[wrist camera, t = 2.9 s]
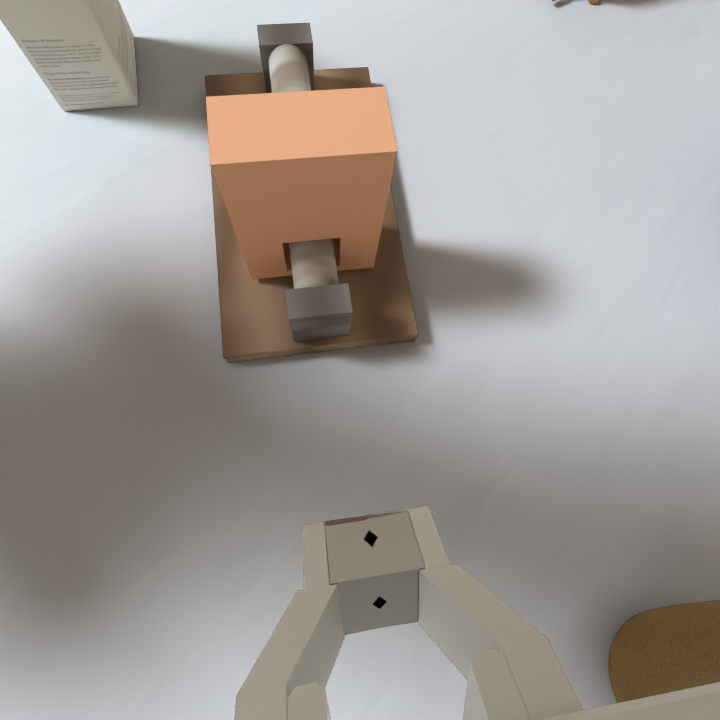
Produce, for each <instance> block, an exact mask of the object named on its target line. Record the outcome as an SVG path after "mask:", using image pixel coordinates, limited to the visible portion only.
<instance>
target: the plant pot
mask: <svg viewBox="0 0 720 720" xmlns="http://www.w3.org/2000/svg"><path fill="white" fill-rule="evenodd" d="M609 675H610V681H611V685H612V689H613V692H614V695H615V697H616V700H617V702H618V703H621V702H625V701H630V700H635V699H640V698H645V697H649V696H654V695H659V694H664V693H669V692H674V691H678V690H683V689H688V688H693V687H698V686H702V685H707V684H712V683H717V682H720V601H706V602H696V603H688V604H680V605H674V606H668V607H663V608H658V609H654V610H650V611H646V612H642V613H640V614H637V615H635V616H633V617H632V618H631V619H629V620H628V621H626V622H625V623H624V624H623V625H622V627H621V628H620V630H619V631H618V633H617V634H616V636H615V638H614V640H613V643H612V646H611V650H610V656H609Z"/></svg>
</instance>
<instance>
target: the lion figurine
mask: <svg viewBox="0 0 720 720" xmlns="http://www.w3.org/2000/svg"><path fill="white" fill-rule="evenodd" d="M552 1H555V0H552ZM588 1H589V2H590V3H592V4H598V3H599V2H600V0H588Z"/></svg>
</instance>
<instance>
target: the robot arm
mask: <svg viewBox="0 0 720 720" xmlns="http://www.w3.org/2000/svg"><path fill="white" fill-rule="evenodd" d="M302 549H303V576H304V589H303V590H298V591H297V592H296V594H295V596H294V597H293V599H292V601H291V603H290V604H289V606H288V608H287V609H286V611H285V613H284V615H283V616H282V618H281V620H280V621H279V623H278V625H277V627H276V628H275V630H274V632H273V634H272V635H271V637H270V639H269V640H268V642H267V644H266V646H265V647H264V649H263V651H262V652H261V654H260V656H259V658H258V659H257V661H256V663H255V664H254V666H253V668H252V670H251V671H250V673H249V675H248V676H247V678H246V680H245V682H244V683H243V685H242V687H241V688H240V690H239V692H238V694H237V695H236V706H235V717H234V720H331V718H330V712H329V707H328V701H327V696H326V690H325V686H326V684H327V681H328V679H329V676H330V674H331V671H332V668H333V666H334V663H335V661H336V658H337V655H338V653H339V650H340V648H341V645H342V643H343V640H344V635H347V634H352V633H357V632H361V631H366V630H371V629H375V628H380V627H387V626H393V625H400V624H407V623H413V622H418V624H419V625H420V626H421V627H422V628H423V630H424V631H425V632H426V633H427V634H428V635H429V637H430V638H431V639H432V640H433V641H434V642H435V643H436V645H437V646H438V647H439V648H440V649H441V650H442V651H443V653H444V654H445V655H446V656H447V657H448V658H449V660H450V661H451V662H452V663H453V664H454V665H455V666H456V668H457V669H458V670H459V671H460V672H461V673H462V675H463V676H464V677H465V678H466V679H467V680H468V683H467V691H466V699H465V707H464V715H463V720H720V682H717V683H712V684H707V685H702V686H698V687H693V688H688V689H683V690H678V691H674V692H669V693H664V694H659V695H654V696H649V697H645V698H640V699H635V700H630V701H625V702H621V703H616V704H611V705H606V706H601V707H597V708H592V709H587V710H583V709H582V707H581V705H580V703H579V701H578V699H577V697H576V695H575V693H574V691H573V689H572V687H571V685H570V683H569V681H568V679H567V677H566V675H565V673H564V671H563V669H562V667H561V665H560V663H559V661H558V659H557V657H556V654H555V652H554V650H553V648H552V646H551V644H550V642H549V640H548V638H547V637H546V636H545V635H543V634H542V633H541V632H540V631H538V630H537V629H536V628H535V627H534V626H532V625H531V624H530V623H529V622H527V621H526V620H525V619H524V618H523V617H521V616H520V615H519V614H518V613H516V612H515V611H514V610H513V609H511V608H510V607H509V606H508V605H507V604H505V603H504V602H503V601H502V600H500V599H499V598H498V597H497V596H496V595H494V594H493V593H492V592H491V591H489V590H488V589H487V588H486V587H484V586H483V585H482V584H481V583H480V582H478V581H477V580H476V579H475V578H473V577H472V576H471V575H470V574H469V573H467V572H466V571H465V570H464V569H462V568H461V567H460V566H459V565H457V564H451V565H450V563H449V560H448V557H447V554H446V552H445V549H444V546H443V543H442V541H441V538H440V535H439V533H438V530H437V527H436V524H435V522H434V519H433V516H432V513H431V511H430V508H429V507H428V506H421V507H414V508H408V509H400V510H394V511H388V512H382V513H376V514H370V515H365V516H362V517H354V518H346V519H338V520H331V521H325V524H324V522H317V523H310V524H303V526H302Z"/></svg>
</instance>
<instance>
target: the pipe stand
mask: <svg viewBox="0 0 720 720" xmlns="http://www.w3.org/2000/svg"><path fill="white" fill-rule="evenodd" d="M257 29H258V39H259V47H260V53H261V60H262V66H263V72H264V73H246V74H227V75H208V76H205V83H206V97H210V96H228V95H245V94H263V93H280V92H298V91H316V90H333V89H351V88H368V87H372V86H371V81H370V75H369V70H368V67H361V68H342V69H323V70H314V66H313V42H312V35H311V28H310V23H293V24H269V25H257ZM211 175H212V191H213V206H214V221H215V237H216V252H217V268H218V283H219V298H220V314H221V329H222V345H223V357H224V358H225V359H226V361H227V362H236V361H245V360H254V359H262V358H271V357H279V356H288V355H296V354H305V353H313V352H322V351H330V350H339V349H347V348H356V347H365V346H373V345H382V344H390V343H399V342H407V341H414V340H415V338H416V337H417V335H418V332H417V327H416V321H415V316H414V311H413V305H412V300H411V295H410V289H409V284H408V279H407V273H406V268H405V262H404V257H403V252H402V246H401V241H400V236H399V230H398V225H397V220H396V214H395V209H394V204H393V198H392V193H391V188H390V190H389V195H388V199H387V204H386V209H385V214H384V219H383V224H382V229H381V234H380V239H379V244H378V248H377V253H376V258H375V263H374V267H373V268H363V269H353V270H343V271H337V269H336V262H335V255H334V248H333V240H332V239H322V240H311V241H300V242H289V248H290V257H291V266H292V276H282V277H272V278H262V279H252V277H251V275H250V272H249V269H248V266H247V264H246V261H245V258H244V256H243V253H242V250H241V247H240V245H239V242H238V239H237V236H236V234H235V231H234V228H233V226H232V223H231V220H230V217H229V215H228V212H227V209H226V207H225V204H224V201H223V198H222V196H221V193H220V190H219V187H218V185H217V182H216V179H215V177H214V174H213V171H212V168H211Z"/></svg>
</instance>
